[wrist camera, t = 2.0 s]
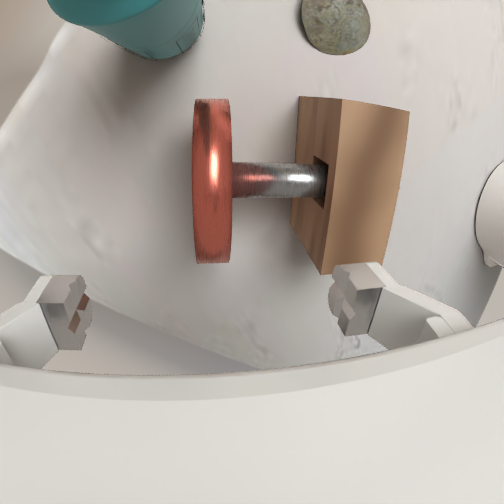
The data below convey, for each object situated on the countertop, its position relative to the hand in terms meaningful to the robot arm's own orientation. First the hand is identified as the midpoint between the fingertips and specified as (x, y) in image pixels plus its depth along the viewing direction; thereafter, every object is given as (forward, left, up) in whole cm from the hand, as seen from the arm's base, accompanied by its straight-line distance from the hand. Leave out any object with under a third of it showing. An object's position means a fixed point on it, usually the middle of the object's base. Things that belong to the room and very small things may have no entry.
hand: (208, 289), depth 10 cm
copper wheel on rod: (-6, 0, -18) cm, 19 cm away
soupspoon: (-8, -21, -20) cm, 30 cm away
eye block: (-10, 0, -19) cm, 22 cm away
